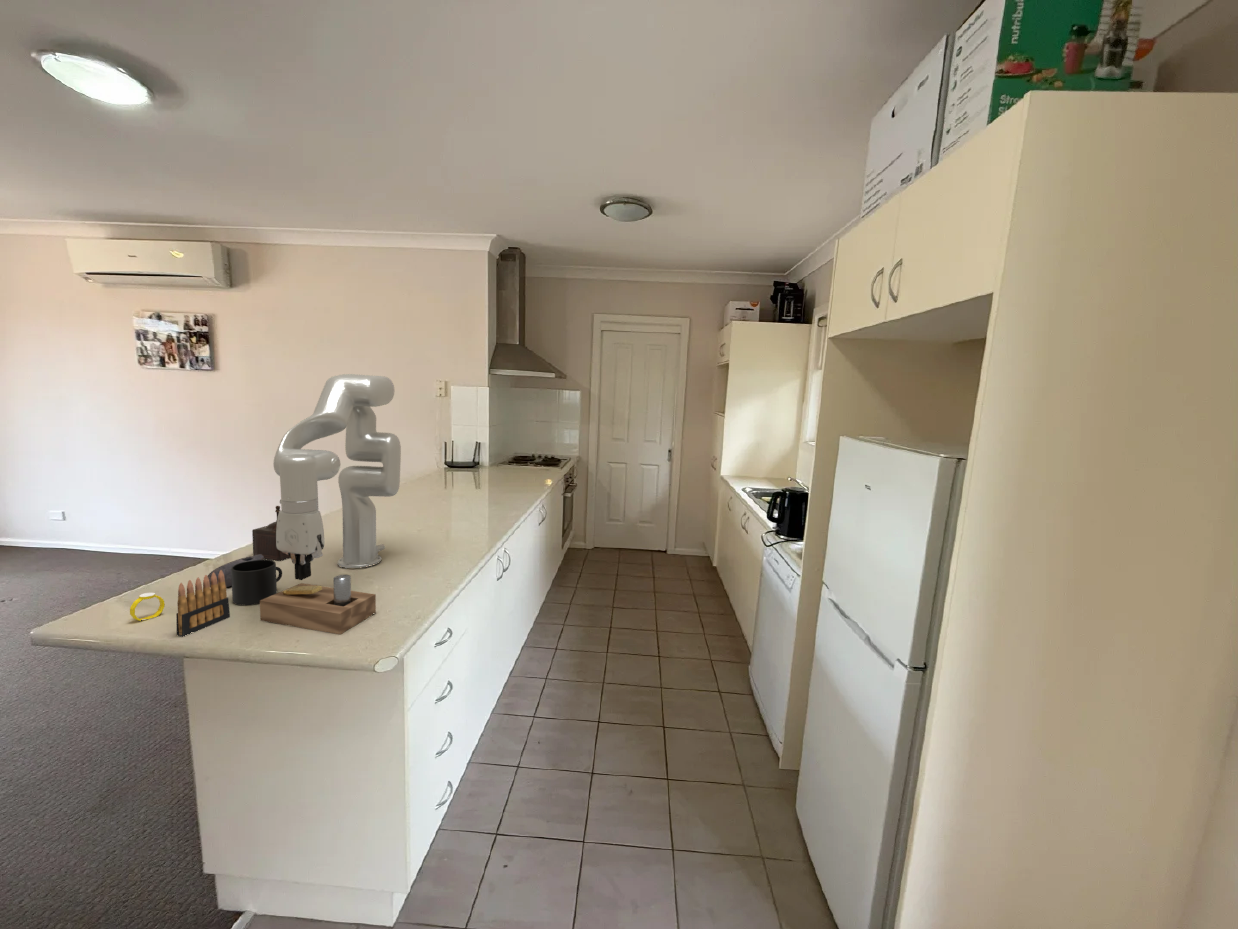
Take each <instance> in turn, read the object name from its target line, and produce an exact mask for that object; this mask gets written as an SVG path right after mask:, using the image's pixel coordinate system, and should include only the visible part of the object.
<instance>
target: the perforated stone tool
mask: <svg viewBox="0 0 1238 929" xmlns="http://www.w3.org/2000/svg"><path fill="white" fill-rule="evenodd" d="M251 560H265V559H264V556H263V555H262V554H259V555H254V556H253V555H251V556H246V557H242V558H238V559H235V560H233V561H231V562H228V563H225V564H222V565H220V566H218V567H217V568H214V569H213V570H212V571H210V572H209V573H208V575H207V576H208V578H209V582H210V589H211V576H212V573H213V572H214V573H215V575H216V577H217V584H218V576H219V572H220V570H222V571H223V574H224V578H225V585H226V588H228V587H232V579H231V568H232V566H234V565H236V564H239V563H242V562H246V561H251Z"/></svg>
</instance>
